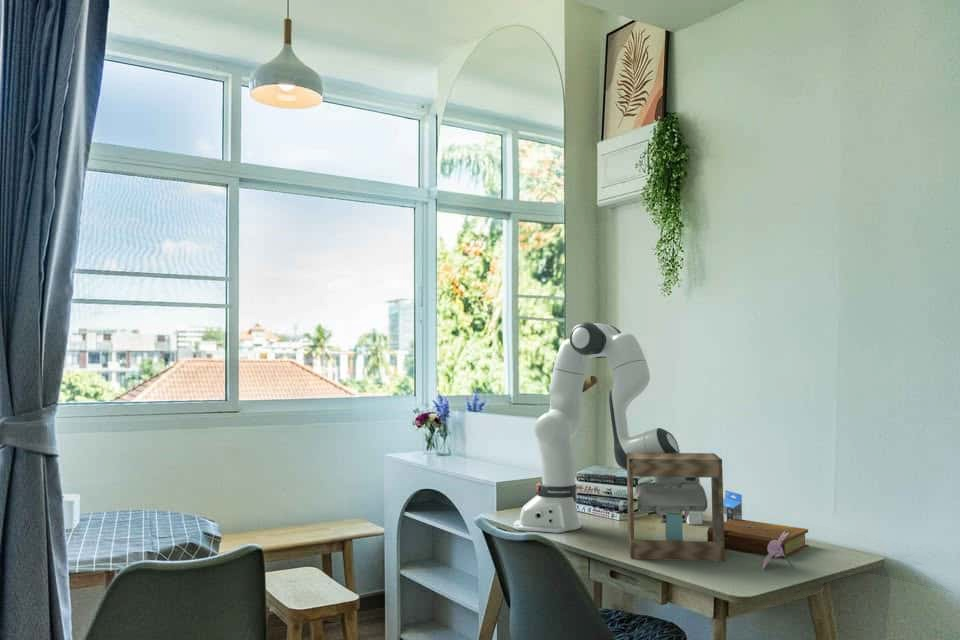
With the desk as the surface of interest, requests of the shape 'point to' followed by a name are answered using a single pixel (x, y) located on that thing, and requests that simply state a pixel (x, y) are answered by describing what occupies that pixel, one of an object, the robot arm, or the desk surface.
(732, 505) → the label tape cartridge
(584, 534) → the desk surface
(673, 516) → the teal block
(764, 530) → the diary
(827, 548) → the desk surface
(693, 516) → the ink cartridge box
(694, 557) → the walnut cubby
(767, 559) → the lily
